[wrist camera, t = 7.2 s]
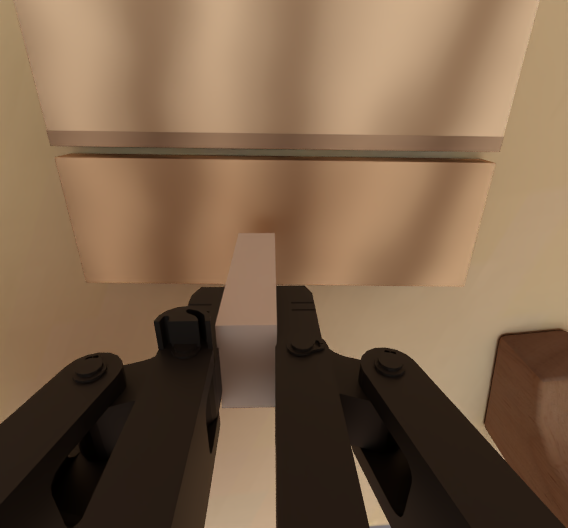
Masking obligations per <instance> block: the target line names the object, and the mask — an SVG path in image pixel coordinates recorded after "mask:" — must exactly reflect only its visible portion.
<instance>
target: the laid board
mask: <svg viewBox="0 0 568 528" xmlns="http://www.w3.org/2000/svg"><path fill="white" fill-rule="evenodd" d="M13 1H14V5H15V9H16V12H17V16H18V20H19V24H20V28H21V32H22V36H23V40H24V43H25V47H26V51H27V55H28V59H29V63H30V67H31V70H32V74H33V78H34V82H35V86H36V90H37V94H38V97H39V101H40V105H41V109H42V113H43V117H44V121H45V124H46V128H47V134H48V138H49V142H50V146H98V147H173V148H247V149H321V150H396V151H470V152H500V149H501V146H502V142H503V138H504V137H503V136H504V133H505V129H506V125H507V121H508V117H509V114H510V110H511V106H512V102H513V99H514V95H515V91H516V87H517V84H518V80H519V76H520V72H521V68H522V65H523V61H524V57H525V53H526V50H527V46H528V42H529V38H530V35H531V31H532V27H533V23H534V19H535V16H536V12H537V8H538V4H539V1H540V0H13Z"/></svg>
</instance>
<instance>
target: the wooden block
mask: <svg viewBox="0 0 568 528" xmlns="http://www.w3.org/2000/svg"><path fill="white" fill-rule="evenodd" d="M485 428H486V430H487V431H488V433H489V434H490V436H491V438H492V439H493V441H494V443H495V444H496V446H497V447H498V449H499V451H500V452H501V454H502V455H503V457H504V459H505V460H506V462H507V463H508V464H509V465H510V467H511V468H512V469H513V470H514V471H515V472H516V473H517V474H518V475H519V476H520V478H521V479H522V480H523V481H524V482H525V483H526V484H527V485H528V486H529V487H530V489H531V490H532V491H533V492H534V493H535V494H536V495H537V496H538V497H539V498H540V500H541V501H542V502H543V503H544V504H545V505H546V506H547V507H548V508H549V509H550V510H551V512H552V513H553V514H554V515H555V516H556V517H557V518H558V519H559V520H560V521H561V523H562V524H563V525H564V526H565V527H566V528H568V332H566V331H562V330H558V331H547V332H537V333H527V334H516V335H506V336H503V337H501V338H500V340H499V346H498V352H497V357H496V363H495V369H494V374H493V380H492V386H491V391H490V397H489V403H488V408H487V414H486V419H485Z"/></svg>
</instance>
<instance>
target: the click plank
mask: <svg viewBox="0 0 568 528" xmlns="http://www.w3.org/2000/svg"><path fill="white" fill-rule="evenodd" d="M55 161H56V165H57V169H58V173H59V177H60V181H61V185H62V189H63V192H64V196H65V200H66V204H67V208H68V212H69V216H70V220H71V224H72V228H73V232H74V236H75V240H76V244H77V248H78V252H79V256H80V260H81V264H82V268H83V272H84V276H85V280H86V283H182V284H226V281H227V277H228V273H229V269H230V265H231V261H232V257H233V253H234V249H235V245H236V241H237V238H238V234H239V233H275V264H276V284H278V285H374V286H464V284H465V280H466V276H467V272H468V268H469V265H470V261H471V257H472V253H473V249H474V245H475V241H476V238H477V234H478V230H479V226H480V222H481V218H482V214H483V211H484V207H485V203H486V199H487V195H488V191H489V187H490V184H491V180H492V176H493V172H494V168H495V164H496V163H493V162H490V161H486V160H482V159H445V158H369V157H294V156H219V155H143V154H67V155H63V156H58V157H55Z"/></svg>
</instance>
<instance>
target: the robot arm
mask: <svg viewBox="0 0 568 528" xmlns="http://www.w3.org/2000/svg"><path fill="white" fill-rule="evenodd" d="M154 326H155V331H156V337H157V343H158V348H159V350H158V352H157V355H156V356H155V357H153V358H151V359H148V360H144V361H141V362H136V363H132V364H128V365H123V363H122V360H121V359H120V358H119V357H118V355H115V354H112V353H95V354H90V355H86V356H84V357H82V358H79V359H77V360H75V361H73V362H72V363H70V364H69V365H68V366H66V367H65V368H64V369H63V370H61V371H60V372H59V373H58V374H57V375H56V376H55V377H53V378H52V379H51V380H50V381H49V382H48V383H47V384H46V385H44V386H43V387H42V388H41V389H40V390H39V391H38V392H36V393H35V394H34V395H33V396H32V397H31V398H30V399H29V400H27V401H26V402H25V403H24V404H23V405H22V406H21V407H19V408H18V409H17V410H16V411H15V412H14V413H13V414H12V415H10V416H9V417H8V418H7V419H6V420H5V421H4V422H2V423H1V424H0V528H204V525H205V519H206V512H207V506H208V500H209V493H210V487H211V481H212V474H213V468H214V461H215V455H216V449H217V442H218V436H219V430H220V416H219V408H220V402H221V399H222V408H252V407H275V444H276V528H369V523H368V519H367V514H366V510H365V506H364V501H363V497H362V492H361V488H360V484H359V479H358V475H357V471H356V466H355V462H354V457H353V453H352V450H353V452H354V454H355V456H356V458H357V460H358V462H359V464H360V466H361V468H362V470H363V472H364V474H365V476H366V478H367V480H368V482H369V484H370V486H371V488H372V490H373V492H374V494H375V496H376V498H377V500H378V502H379V504H380V506H381V508H382V510H383V512H384V514H385V516H386V518H387V520H388V522H389V524H390V526H391V528H566V527H565V526H564V525H563V524H562V523H561V521H560V520H559V519H558V518H557V517H556V516H555V515H554V514H553V513H552V512H551V510H550V509H549V508H548V507H547V506H546V505H545V504H544V503H543V502H542V501H541V500H540V498H539V497H538V496H537V495H536V494H535V493H534V492H533V491H532V490H531V489H530V487H529V486H528V485H527V484H526V483H525V482H524V481H523V480H522V479H521V478H520V476H519V475H518V474H517V473H516V472H515V471H514V470H513V469H512V468H511V467H510V465H509V464H508V463H507V462H506V461H505V460H504V459H503V458H502V457H501V456H500V454H499V453H498V452H497V451H496V450H495V449H494V448H493V447H492V446H491V445H490V443H489V442H488V441H487V440H486V439H485V438H484V437H483V436H482V435H481V434H480V432H479V431H478V430H477V429H476V428H475V427H474V426H473V425H472V424H471V423H470V421H469V420H468V419H467V418H466V417H465V416H464V415H463V414H462V413H461V412H460V410H459V409H458V408H457V407H456V406H455V405H454V404H453V403H452V402H451V401H450V400H449V398H448V397H447V396H446V395H445V394H444V393H443V392H442V391H441V390H440V389H439V387H438V386H437V385H436V384H435V383H434V382H433V381H432V380H431V379H430V378H429V376H428V375H427V374H426V373H425V372H424V371H423V370H422V369H421V368H420V367H419V365H418V364H417V363H416V362H415V361H414V360H413V359H411V358H410V357H409V356H408V355H406V354H404V353H402V352H400V351H398V350H395V349H390V348H374V349H371V350H368V351H367V352H366V353H365V354H364V355H363V356H362V358H361V360H358V359H354V358H349V357H345V356H342V355H339V354H337V353H335V352H333V351H332V350H330V349H329V347H328V345H327V344H326V342H325V341H324V340H323V339H322V338H321V333H320V328H319V323H318V319H317V314H316V311H315V305H314V300H313V295H312V293H311V292H310V291H309V290H308V289H307V288H306V287H305V286H276V264H275V233H239V234H238V238H237V241H236V245H235V249H234V253H233V257H232V261H231V265H230V269H229V273H228V277H227V281H226V285H225V287H201V288H200V289H199V290H198V291H196V292H195V293H194V294H193V295H192V296H191V299H190V301H189V304H188V306H186V307H177V308H174V309H171V310H168V311H166V312H164V313H162V314H161V315H159V316H158V317H157V318H156V319H155V321H154ZM351 446H352V449H351Z"/></svg>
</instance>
